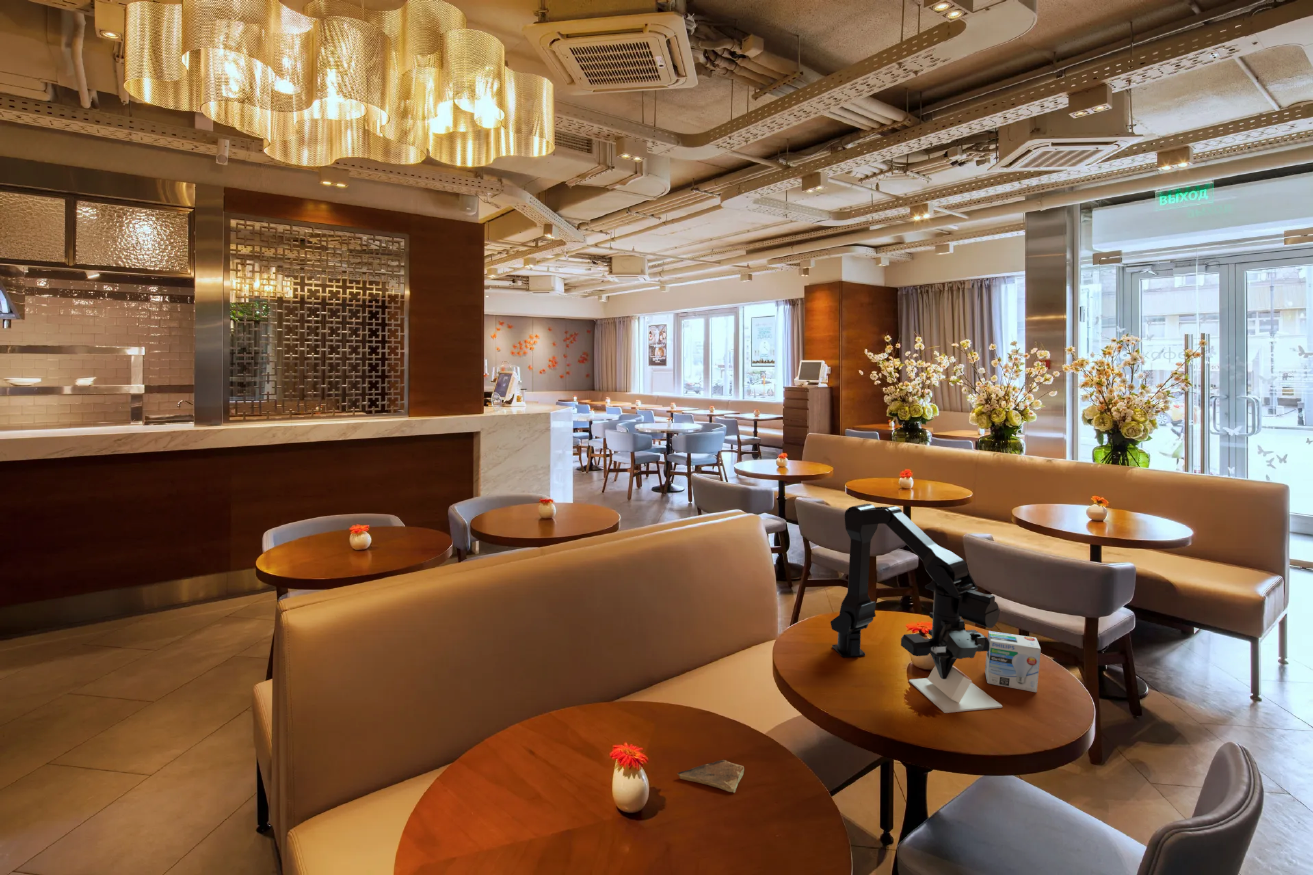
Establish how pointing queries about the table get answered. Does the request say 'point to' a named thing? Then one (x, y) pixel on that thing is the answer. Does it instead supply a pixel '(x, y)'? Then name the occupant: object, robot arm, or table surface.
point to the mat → (969, 701)
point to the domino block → (951, 683)
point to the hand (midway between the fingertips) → (943, 678)
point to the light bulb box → (1013, 661)
